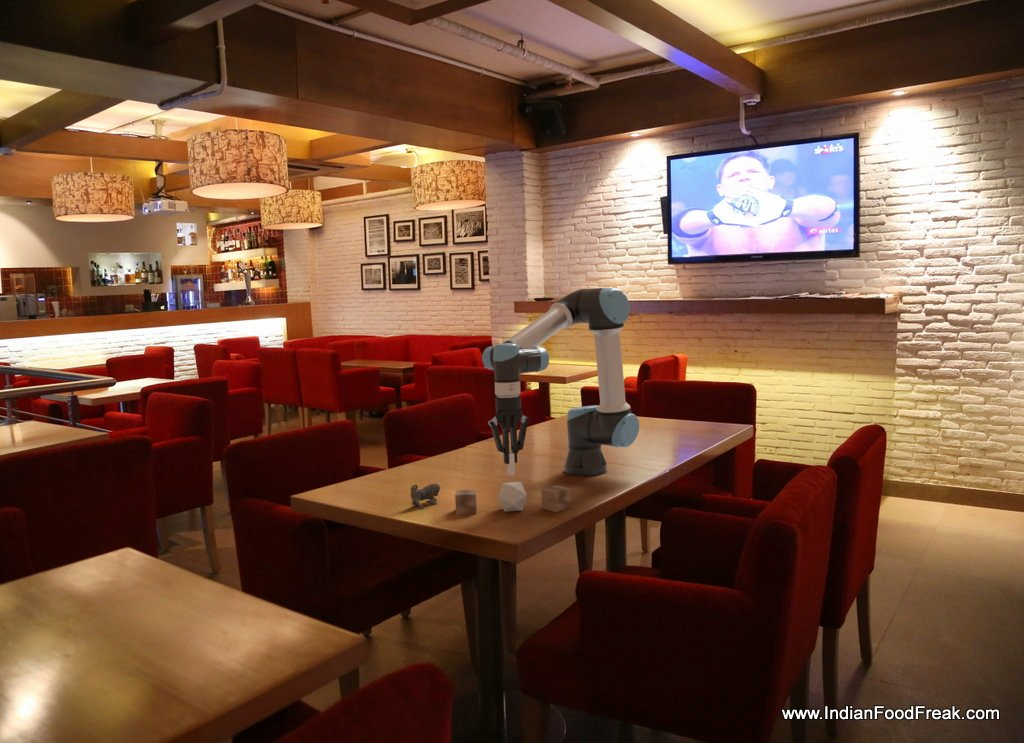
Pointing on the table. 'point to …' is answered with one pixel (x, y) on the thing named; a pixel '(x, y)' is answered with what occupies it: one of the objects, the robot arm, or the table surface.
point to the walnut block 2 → (556, 498)
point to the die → (512, 496)
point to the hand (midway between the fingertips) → (511, 474)
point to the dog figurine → (424, 494)
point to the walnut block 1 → (466, 502)
